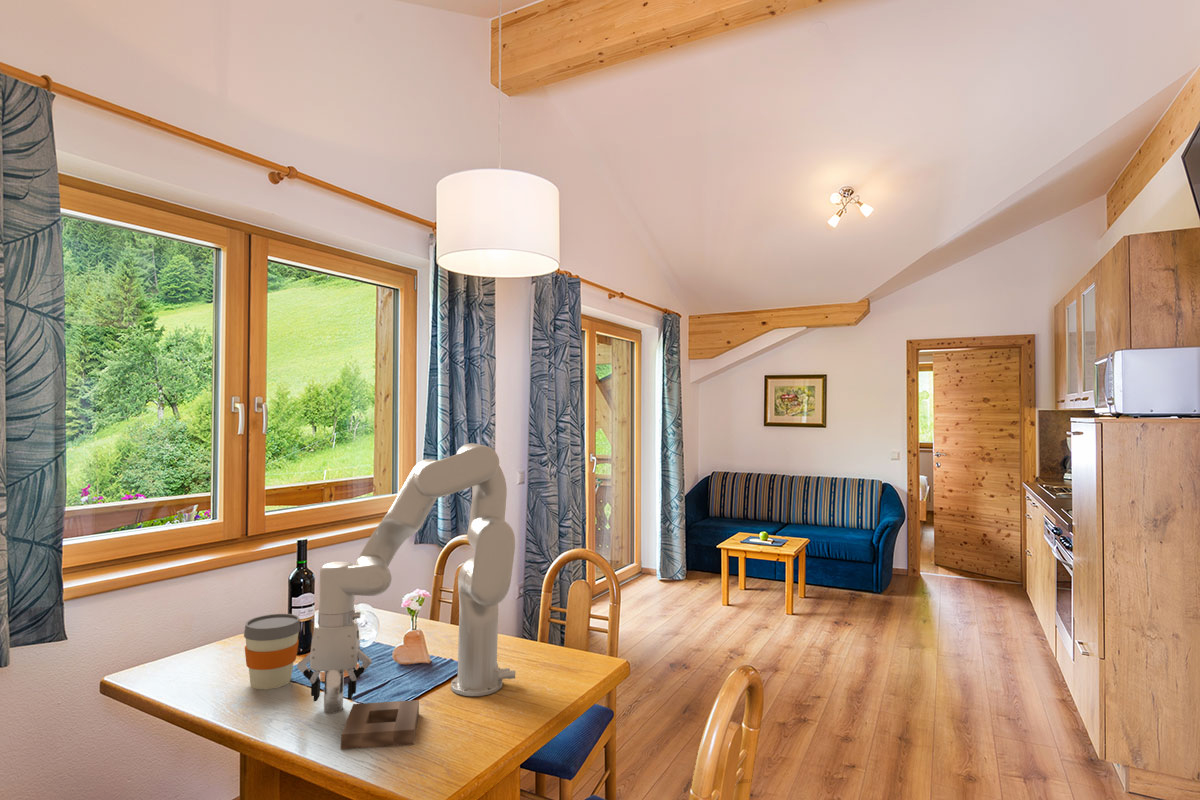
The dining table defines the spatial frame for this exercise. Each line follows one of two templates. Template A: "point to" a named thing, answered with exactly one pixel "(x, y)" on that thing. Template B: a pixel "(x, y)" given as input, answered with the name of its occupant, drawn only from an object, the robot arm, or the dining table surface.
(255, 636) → the reusable coffee cup
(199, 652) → the dining table surface
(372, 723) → the socket block
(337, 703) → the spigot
